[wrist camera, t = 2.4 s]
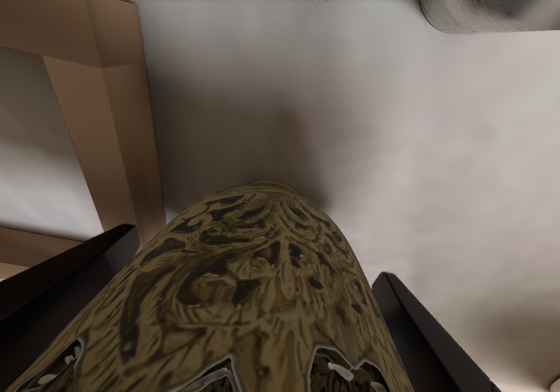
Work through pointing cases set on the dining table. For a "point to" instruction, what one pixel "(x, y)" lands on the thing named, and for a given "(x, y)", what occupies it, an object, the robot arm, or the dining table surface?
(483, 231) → the dining table surface
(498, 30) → the spacer posts
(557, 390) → the white plastic bottle
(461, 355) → the robot arm
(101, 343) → the ornate brass lampshade
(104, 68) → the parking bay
